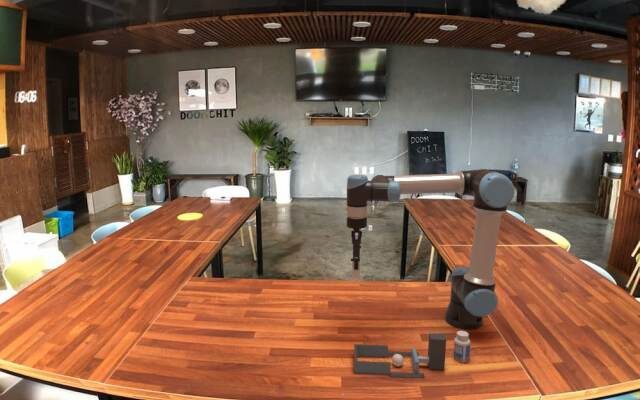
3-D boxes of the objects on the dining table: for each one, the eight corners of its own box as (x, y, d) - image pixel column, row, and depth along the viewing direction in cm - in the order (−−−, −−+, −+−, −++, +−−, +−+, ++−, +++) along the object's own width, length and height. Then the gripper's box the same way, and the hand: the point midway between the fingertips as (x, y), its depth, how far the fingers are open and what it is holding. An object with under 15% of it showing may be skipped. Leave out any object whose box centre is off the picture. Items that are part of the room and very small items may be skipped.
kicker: (440, 359, 156) (442, 330, 154) (445, 373, 148) (447, 343, 145) (411, 358, 157) (412, 329, 155) (414, 372, 148) (416, 342, 146)
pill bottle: (466, 354, 160) (467, 329, 158) (471, 362, 155) (473, 337, 153) (451, 354, 160) (452, 329, 158) (456, 363, 155) (457, 337, 153)
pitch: (418, 355, 159) (418, 345, 159) (424, 378, 146) (424, 367, 145) (353, 352, 161) (354, 342, 160) (354, 375, 147) (354, 364, 146)
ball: (402, 362, 155) (403, 351, 154) (404, 368, 151) (404, 358, 150) (391, 361, 155) (391, 351, 154) (392, 368, 151) (392, 357, 150)
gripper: (347, 209, 177) (347, 260, 181) (345, 224, 153) (345, 282, 157) (366, 209, 177) (365, 260, 181) (367, 225, 152) (366, 283, 156)
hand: (356, 271), depth 169 cm, fingers open, 13 cm apart
